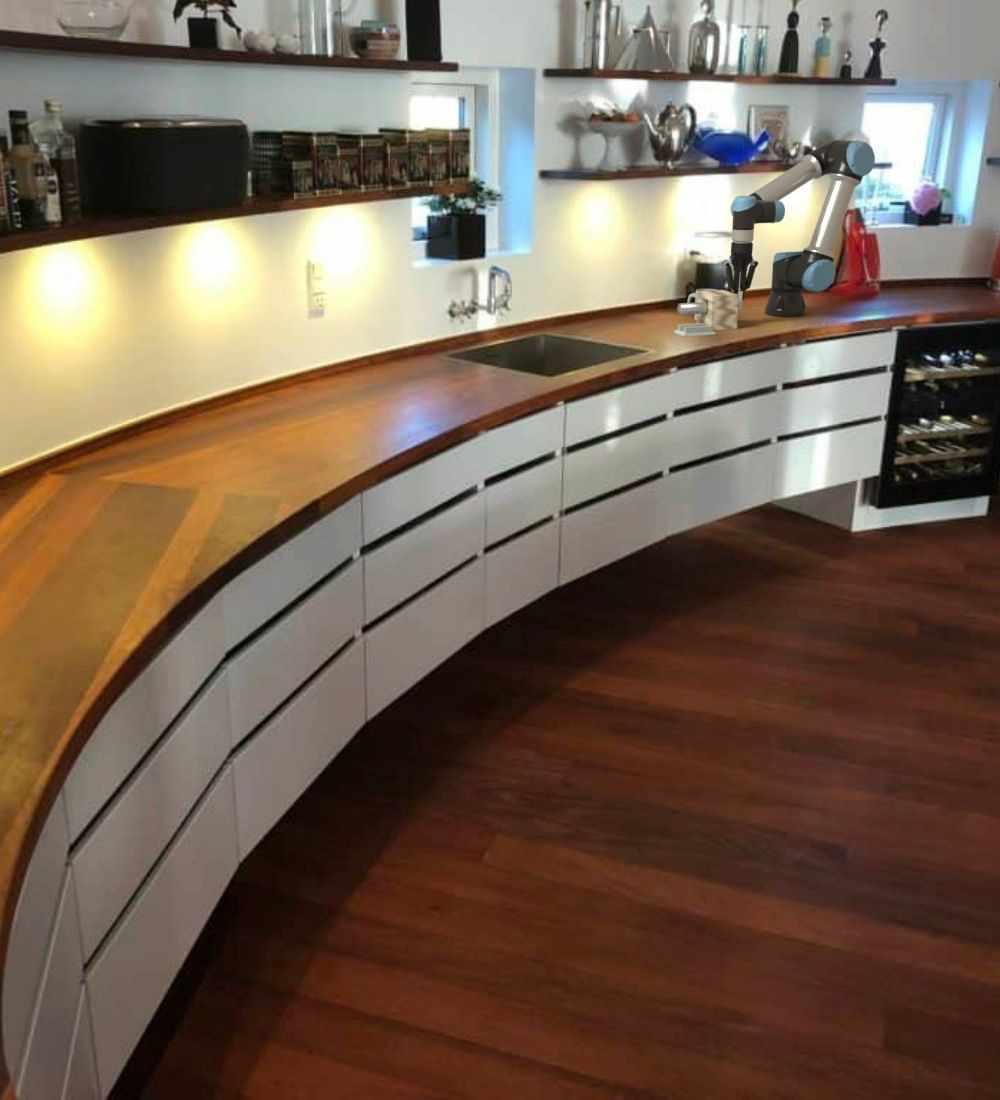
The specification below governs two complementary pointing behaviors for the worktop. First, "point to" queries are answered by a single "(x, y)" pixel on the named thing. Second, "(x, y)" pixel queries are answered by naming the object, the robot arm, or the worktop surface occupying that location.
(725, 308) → the patterned beige cube
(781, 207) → the robot arm
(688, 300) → the mug
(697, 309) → the axle
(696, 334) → the cradle
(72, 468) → the worktop surface
